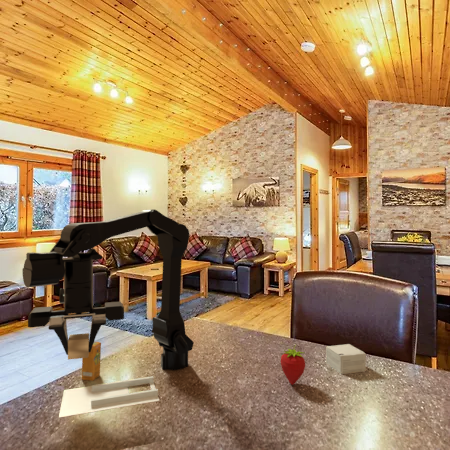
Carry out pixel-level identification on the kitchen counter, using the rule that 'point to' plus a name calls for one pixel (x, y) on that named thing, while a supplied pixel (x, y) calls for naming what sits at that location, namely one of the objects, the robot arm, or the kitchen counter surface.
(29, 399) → the kitchen counter surface
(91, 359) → the supplement box
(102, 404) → the trough
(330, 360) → the small box
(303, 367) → the strawberry
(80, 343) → the wooden block
